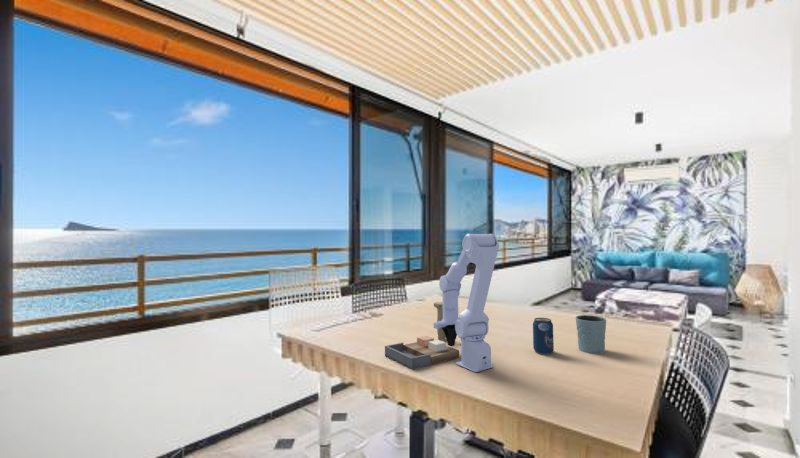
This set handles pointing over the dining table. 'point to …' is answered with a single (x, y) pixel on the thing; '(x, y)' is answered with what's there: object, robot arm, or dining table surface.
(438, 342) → the tile cream
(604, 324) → the blue-grey cup
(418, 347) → the wooden board
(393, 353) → the box
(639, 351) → the dining table surface
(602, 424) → the dining table surface
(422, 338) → the tile terracotta
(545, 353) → the soda can
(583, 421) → the dining table surface
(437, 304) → the handle
